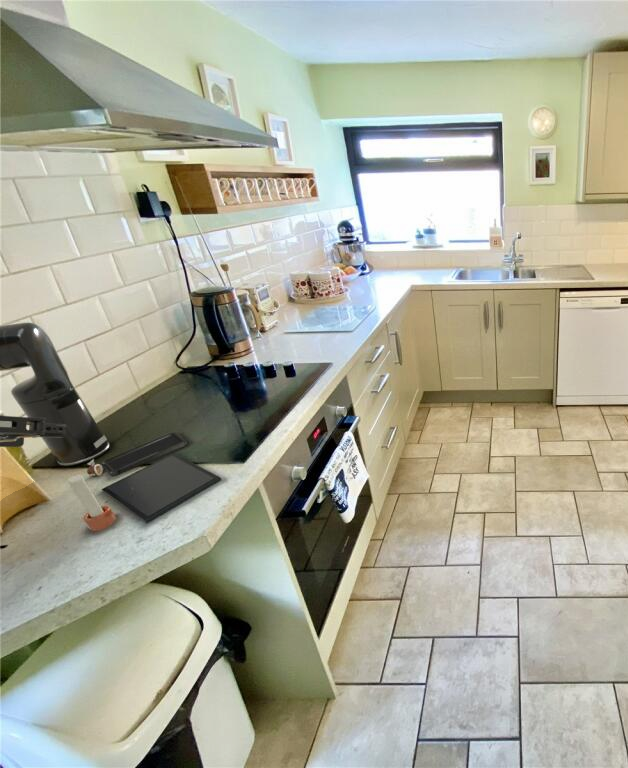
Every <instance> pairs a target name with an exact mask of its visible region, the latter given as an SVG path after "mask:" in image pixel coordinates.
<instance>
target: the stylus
mask: <svg viewBox="0 0 628 768" xmlns="http://www.w3.org/2000/svg"><path fill="white" fill-rule="evenodd" d="M67 483H68V484H69V485H70V487H71V488H72V490H73V492H74V493H75V495H76V496H77V498H78V499H79V501H80V502H81V505H83V507H84V509H85V510H86V511H87V512H86V513H89V515H90V516H91V518H95V517H97V516H99V515H101V514H102V513H104V511H103V510H102V508H101V505H100V503H99V502H98V500H97V498H96V497H95V495H94V494H93V492H92V491H91V489H90V487H89V486H88V484H87V482H86V481H85V479H84V477H83V476H82V475H79V474H77V475H73V476H71V477H70V478H68V480H67Z"/></svg>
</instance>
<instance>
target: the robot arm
mask: <svg viewBox="0 0 628 768" xmlns="http://www.w3.org/2000/svg"><path fill="white" fill-rule="evenodd" d="M30 367H31V369H32V372H33V374H34V375H33V376H32V377H30V378H27V379H25V380H24V381H21V382H19V383H18V384H16V385H14V386H13V387H12V389H11V390H10V393H11V395H12V397H13V399H14V400H15V401H16V403H17V404H18V406H19V407H20V408H21V410H22V411H23V413H24V414H25V415H26V416H14V415H13V416H10V415H0V448H19V447H23V446H24V444H25V439H26V438H32V439H37V438H41V439H42V441H43V442H44V443H45V445H46V446H47V448H48V449H49V450H50V452H51V454H52V455H53V457H54V458H55V460H56V461H57V463H58V465H59V466H61V467H75V466H79V465H82V464H85V463H89V462H91V461H92V460H93V459H94V460H95V459H97V458H99V457H101V456H102V455H104V454H105V453H106V452H108V451H109V450H110V448H111V444H110V443H109V441H108V439H107V437H106V435H105V434H104V433H103V432H102V430H101V428H100V426H99V425H98V423H97V422H96V421H95V418H94V417H93V416H92V414H91V412H90V410H89V408H88V407H87V405H86V404H85V402H84V401H83V399H82V397H81V396H80V394H79V392H78V390H77V388H75V385H74V384H73V382H72V381H71V378H70V376H69V372H68V370H67V368H66V367H65V364H64V363H63V361H62V359H61V357H60V355H59V353H58V351H57V350H56V347H55V346H54V344H53V341H52V340H51V338H50V337H49V335H48V333H47V332H46V331H45V330H44V329H43V328H42V327H41V326H39V325H38V324H36V323H34V322H17V323H12V324H4V325H0V372H5V371H12V370H17V369H18V370H19V369H23V368H24V369H25V368H30ZM27 426H28V427H29V428H28V429H27Z"/></svg>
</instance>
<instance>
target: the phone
mask: <svg viewBox="0 0 628 768" xmlns="http://www.w3.org/2000/svg"><path fill="white" fill-rule="evenodd" d="M187 445H188V442H187V440H186V438H184V436H182V435H180V434H179V433H177V431H174V432H171V433H168V434H166V435H163V436H161V437H157V438H156V439H154V440H151V441H149V442H145V443H143V444H142V445H139V446H137V447H134V448H131V449H129V450H127V451H124V452H122V453H120V454H118V455H115V456H113V457H111V458H108V459H106V460H104V461H102V462H101V466H102V467H103V469H104V470H105V471H106V472H107V473H108V474H109V475H110V476H111V477H117V476H120V475H122V474H124V473H127V472H130V471H131V470H133V469H136V468H138V467H140V466H142V465H144V464H147V463H149V462H152V461H154V460H156V459H158V458H160V457H163V456H165V455H167V454H169V453H171V452H174V451H176V450H178V449H182V448H183V447H186V446H187Z"/></svg>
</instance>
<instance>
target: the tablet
mask: <svg viewBox="0 0 628 768" xmlns="http://www.w3.org/2000/svg"><path fill="white" fill-rule="evenodd" d="M221 481H222V479H221V477H220V476H219V475H216V474H214V473H213V472H211V471H209V470H207V469H206V468H203V467H202V466H199V465H197V464H196V463H193V462H192V461H190V460H188V459H187V458H184V457H182V456H180V455H178V454H176V452H175V453H172V454H170V455H167V456H166V457H164V458H162V459H159V460H158V461H155V462H153V463H151V464H150V465H147V466H145V467H143V468H141V469H139V470H137V471H135V472H133V473H131V474H129V475H127V476H125V477H124V478H121V479H119V480H117V481H115V482H113V483H110V484H109V485H107V486H105V487H103V488H101V491H102V493H104V494H105V495H106V496H108V497H109V498H110V499H111V500H114V501H115V502H116V503H118V505H120V506H122V507H123V508H124V509H126V510H127V511H128V512H130V513H131V514H132V515H134V516H136V517H137V518H138V519H139V520H140V521H142V522H144V523H145V524H150V523H151V522H153V521H154V520H156V519H158V518H159V517H162V516H163V515H165V514H166V513H168V512H170V511H171V510H173V509H175V508H177V507H178V506H180V505H182V504H183V503H185V502H187V501H189V500H190V499H192V498H194V497H195V496H197V495H199V494H200V493H202V492H204V491H206V490H207V489H209V488H211V487H212V486H214V485H216V484H217V483H219V482H221Z"/></svg>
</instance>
